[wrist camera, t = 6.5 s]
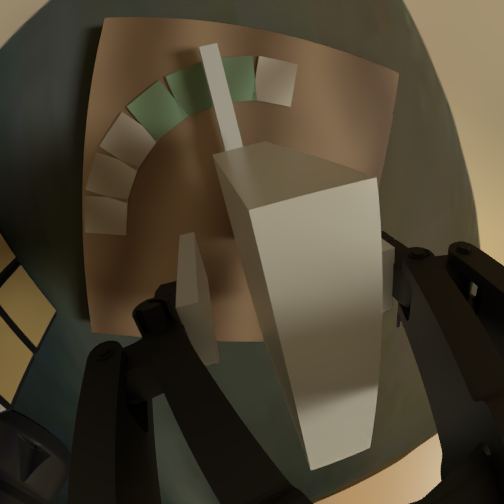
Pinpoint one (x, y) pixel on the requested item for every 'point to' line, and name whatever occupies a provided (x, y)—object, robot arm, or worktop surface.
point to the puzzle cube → (19, 325)
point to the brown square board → (204, 151)
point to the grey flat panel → (307, 276)
